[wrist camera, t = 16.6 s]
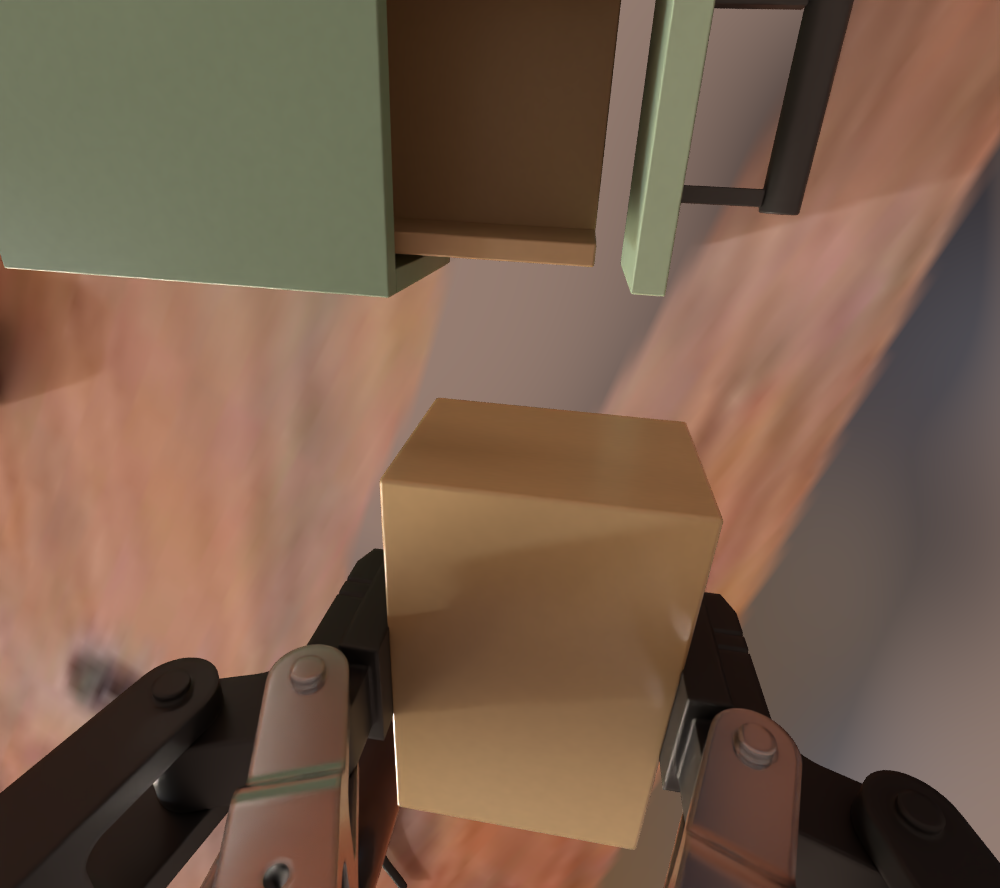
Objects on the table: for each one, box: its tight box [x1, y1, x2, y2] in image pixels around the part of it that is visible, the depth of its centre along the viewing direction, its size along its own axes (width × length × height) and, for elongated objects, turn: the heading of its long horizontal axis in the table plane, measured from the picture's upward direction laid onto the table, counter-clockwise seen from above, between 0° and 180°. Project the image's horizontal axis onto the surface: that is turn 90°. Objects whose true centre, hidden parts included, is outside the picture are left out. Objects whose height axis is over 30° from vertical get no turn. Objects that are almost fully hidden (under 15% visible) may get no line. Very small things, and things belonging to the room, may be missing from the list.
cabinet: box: [0, 0, 450, 298], centre depth 23 cm, size 16×14×10 cm
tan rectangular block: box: [380, 398, 723, 849], centre depth 11 cm, size 8×5×4 cm, turn 177°
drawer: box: [386, 0, 854, 296], centre depth 21 cm, size 19×13×8 cm, turn 87°
